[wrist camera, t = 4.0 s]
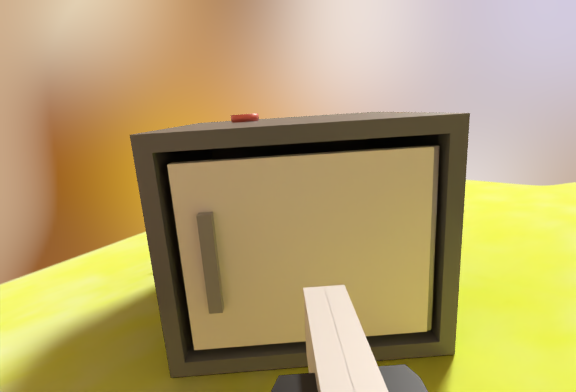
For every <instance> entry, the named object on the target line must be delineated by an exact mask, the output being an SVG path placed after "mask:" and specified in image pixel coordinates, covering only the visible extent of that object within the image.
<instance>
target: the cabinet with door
mask: <svg viewBox="0 0 576 392" xmlns="http://www.w3.org/2000/svg"><path fill="white" fill-rule="evenodd" d="M469 117H470V114H469V113H416V112H414V113H413V112H411V113H409V112H367V113H351V114H336V115H321V116H304V117H288V118H273V119H259V117H258V114H244V115H232V116H231V121H225V122H211V123H198V124H192V125H186V126H180V127H174V128H168V129H163V130H157V131H150V132H145V133H138V134H133V135H130V139H131V145H132V151H133V157H134V163H135V169H136V175H137V181H138V186H139V192H140V198H141V204H142V210H143V216H144V222H145V228H146V234H147V240H148V246H149V252H150V258H151V264H152V270H153V276H154V281H155V287H156V293H157V299H158V305H159V311H160V317H161V323H162V329H163V335H164V341H165V347H166V353H167V359H168V365H169V370H170V376H171V378H174V377H186V376H198V375H210V374H222V373H235V372H247V371H259V370H271V369H283V368H295V367H308V361H307V354H306V341H303V342H290V343H278V344H265V345H253V346H240V347H228V348H216V349H203V350H194V346H193V339H192V332H191V325H190V318H189V312H188V305H187V298H186V291H185V284H184V277H183V270H182V264H181V257H180V250H179V243H178V236H177V229H176V223H175V216H174V209H173V202H172V195H171V188H170V181H169V175H168V168H167V164H169V163H171V162H186V161H201V160H216V159H231V158H247V157H262V156H277V155H292V154H307V153H322V152H337V151H352V150H367V149H382V148H397V147H412V146H427V145H428V146H431V145H438V146H439V169H438V192H437V215H436V238H435V261H434V284H433V307H432V329H431V330H427V332H415V333H402V334H390V335H377V336H366V338H367V341H368V343H369V346H370V348H371V351H372V353H373V355H374V358H375V360H376V361H381V360H393V359H405V358H417V357H429V356H441V355H454V354H455V340H456V324H457V308H458V292H459V276H460V260H461V244H462V229H463V213H464V197H465V181H466V164H467V148H468V133H469Z"/></svg>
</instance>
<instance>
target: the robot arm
mask: <svg viewBox="0 0 576 392" xmlns="http://www.w3.org/2000/svg"><path fill="white" fill-rule="evenodd" d="M303 296H304V316H305V336H306V354H307V361H308V369H309V373H305V374H292V375H279V376H278V378H277V380H276V382H275V384H274V386H273V388H272V390H271V392H428V391H427V389H426V387H425V385H424V383H423V382H422V380H421V378H420V377H419V376H418V375H417V374H416V373H415V372H413V371H412V370H411V369H410V368H409V367H408V366H407V365H405V364H404V365H391V366H378V365H377V363H376V360H375V358H374V355H373V353H372V351H371V348H370V346H369V343H368V341H367V338H366V336H365V334H364V331H363V329H362V326H361V324H360V321H359V319H358V317H357V314H356V312H355V309H354V307H353V304H352V302H351V300H350V297H349V295H348V292H347V290H346V287H345V285H335V286H321V287H307V288H303Z"/></svg>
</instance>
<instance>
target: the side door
mask: <svg viewBox="0 0 576 392" xmlns="http://www.w3.org/2000/svg"><path fill="white" fill-rule="evenodd" d="M167 168H168V175H169V181H170V188H171V195H172V202H173V209H174V216H175V223H176V229H177V236H178V243H179V250H180V257H181V264H182V270H183V277H184V284H185V291H186V298H187V305H188V312H189V318H190V325H191V332H192V339H193V346H194V350H203V349H216V348H228V347H240V346H253V345H265V344H278V343H290V342H303V341H306V336H305V316H304V296H303V288H307V287H321V286H335V285H345V287H346V290H347V292H348V295H349V297H350V300H351V302H352V304H353V307H354V309H355V312H356V314H357V317H358V319H359V321H360V324H361V326H362V329H363V331H364V334H365V336H377V335H390V334H402V333H415V332H427V330H431V329H432V307H433V284H434V261H435V238H436V215H437V192H438V169H439V146H438V145H431V146H428V145H427V146H412V147H397V148H382V149H367V150H352V151H337V152H322V153H307V154H292V155H277V156H262V157H247V158H231V159H216V160H201V161H186V162H171V163H169V164H167Z"/></svg>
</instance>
